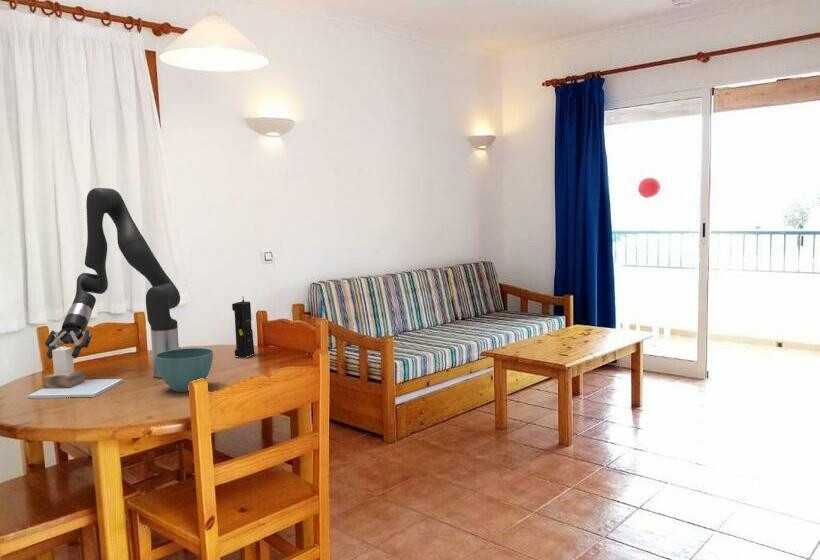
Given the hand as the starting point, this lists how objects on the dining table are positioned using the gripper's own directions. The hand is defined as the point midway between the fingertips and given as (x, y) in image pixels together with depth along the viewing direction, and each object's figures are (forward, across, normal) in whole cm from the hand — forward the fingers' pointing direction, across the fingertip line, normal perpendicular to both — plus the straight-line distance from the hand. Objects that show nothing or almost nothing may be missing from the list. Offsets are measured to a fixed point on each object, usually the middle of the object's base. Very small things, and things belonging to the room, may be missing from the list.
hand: (61, 357), depth 218 cm
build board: (+9, +6, +6) cm, 13 cm away
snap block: (+4, 0, +5) cm, 6 cm away
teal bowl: (+10, +44, +6) cm, 46 cm away
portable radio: (-25, +49, +41) cm, 69 cm away
